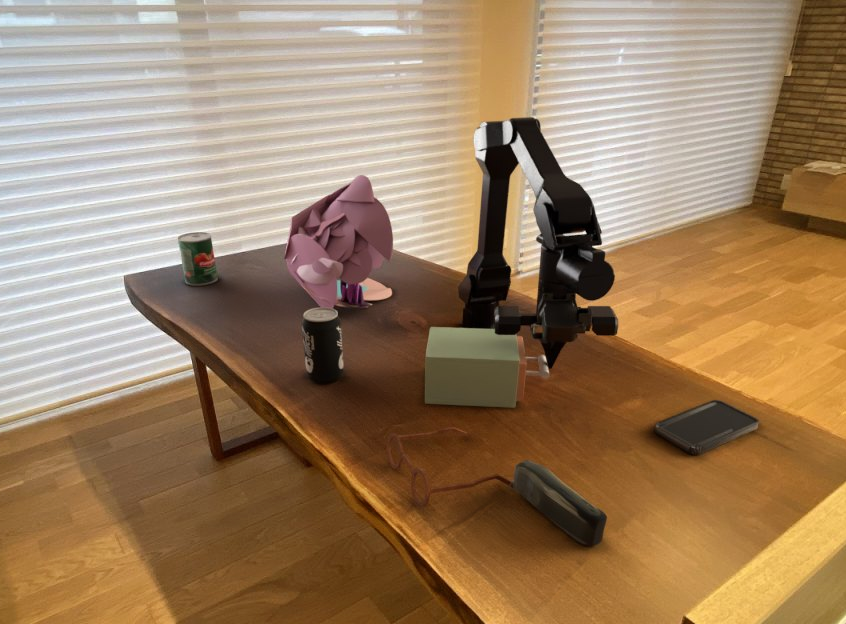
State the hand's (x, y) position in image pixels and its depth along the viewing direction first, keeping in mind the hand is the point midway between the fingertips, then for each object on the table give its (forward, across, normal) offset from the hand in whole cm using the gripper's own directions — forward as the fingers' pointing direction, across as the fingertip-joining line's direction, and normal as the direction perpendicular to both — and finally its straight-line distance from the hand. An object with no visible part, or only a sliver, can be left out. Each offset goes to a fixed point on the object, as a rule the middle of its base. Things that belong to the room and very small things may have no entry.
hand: (549, 367), depth 101 cm
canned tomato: (+3, -80, +49) cm, 94 cm away
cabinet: (+4, -13, 0) cm, 14 cm away
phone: (+5, +22, -10) cm, 25 cm away
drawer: (+3, -9, 0) cm, 10 cm away
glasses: (+4, -16, -24) cm, 29 cm away
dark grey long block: (+4, -3, -31) cm, 31 cm away
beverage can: (+4, -38, +2) cm, 39 cm away
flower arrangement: (+4, -41, +42) cm, 59 cm away
